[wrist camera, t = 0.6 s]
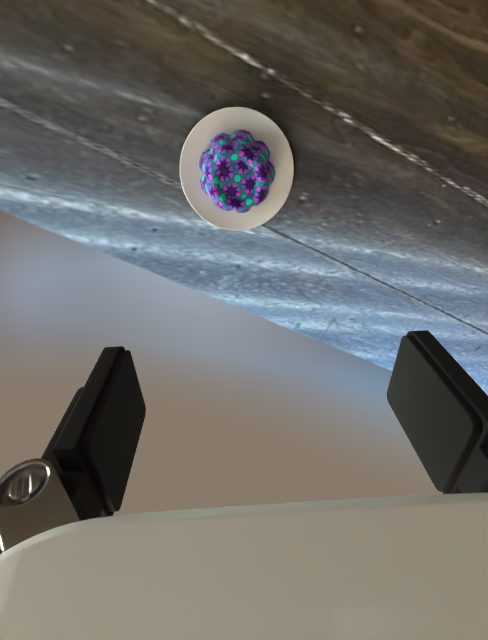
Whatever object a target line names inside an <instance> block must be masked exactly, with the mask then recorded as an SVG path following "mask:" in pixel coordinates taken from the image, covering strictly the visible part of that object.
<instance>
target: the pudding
mask: <svg viewBox="0 0 488 640" xmlns="http://www.w3.org/2000/svg"><path fill="white" fill-rule="evenodd" d="M293 175H294V163H293V157H292V152H291V149H290V146H289V143H288V141H287V139H286V137H285V135H284V134H283V132H282V131H281V129H280V128H279V127H278V126H277V125H276V123H274V122H273V121H272V120H271V119H270V118H269V117H267V116H266V115H264V114H262V113H260V112H258V111H256V110H253V109H250V108H244V107H228V108H223V109H220V110H217V111H214V112H213V113H211V114H209V115H207V116H205V117H204V118H203V119H202V120H201V121H200V122H198V123H197V124H196V126H195V127H194V128H193V129H192V131H191V132H190V134H189V135H188V137H187V139H186V141H185V143H184V146H183V149H182V152H181V158H180V179H181V185H182V188H183V191H184V194H185V196H186V198H187V200H188V202H189V203H190V205H191V206H192V208H193V209H194V210H195V211H196V213H197V214H199V215H200V216H201V217H202V218H203V219H204V220H206V221H207V222H209V223H210V224H212V225H214V226H217V227H219V228H222V229H226V230H234V231H240V230H248V229H252V228H255V227H257V226H260V225H262V224H264V223H265V222H267V221H268V220H269V219H271V218H272V217H273V216H274V215H275V214H276V213H277V212H278V211H279V210H280V208H281V207H282V206H283V204H284V203H285V201H286V199H287V197H288V195H289V192H290V189H291V186H292V181H293Z"/></svg>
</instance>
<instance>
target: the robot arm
mask: <svg viewBox="0 0 488 640" xmlns="http://www.w3.org/2000/svg"><path fill="white" fill-rule="evenodd" d="M387 399H388V402H389V404H390V406H391V408H392V410H393V411H394V413H395V415H396V417H397V419H398V420H399V422H400V424H401V426H402V428H403V429H404V431H405V433H406V435H407V437H408V438H409V440H410V442H411V444H412V446H413V447H414V449H415V451H416V453H417V455H418V457H419V458H420V460H421V462H422V464H423V466H424V468H425V469H426V471H427V473H428V475H429V477H430V478H431V480H432V482H433V484H434V486H435V487H436V489H437V490H438V491H440V492H443V494H436V495H418V496H400V497H381V498H363V499H346V500H329V501H314V502H296V503H280V504H265V505H248V506H234V507H219V508H203V509H189V510H173V511H161V512H149V513H137V514H126V515H116V516H113V513H114V512H115V511H119V509H120V507H121V504H122V500H123V496H124V492H125V489H126V485H127V481H128V478H129V474H130V470H131V467H132V462H133V459H134V455H135V452H136V448H137V444H138V441H139V436H140V433H141V429H142V426H143V422H144V418H145V412H146V409H145V403H144V400H143V396H142V392H141V389H140V385H139V381H138V378H137V374H136V371H135V367H134V363H133V360H132V356H131V353H130V351H128V350H126V351H125V349H124V347H106V348H104V350H103V351H102V353H101V355H100V357H99V359H98V361H97V363H96V365H95V367H94V369H93V370H92V373H91V374H90V376H89V378H88V380H87V382H86V384H85V386H84V387H81V388H80V389H79V390H78V391H77V393H76V394H75V396H74V398H73V399H72V401H71V403H70V405H69V407H68V409H67V411H66V413H65V414H64V416H63V418H62V420H61V422H60V424H59V426H58V428H57V429H56V431H55V433H54V435H53V437H52V439H51V441H50V442H49V445H48V446H47V448H46V450H45V452H44V454H43V456H42V457H41V459H31V460H27V461H24V462H22V463H20V464H17V465H15V466H14V467H13V468H11V469H10V470H8V471H7V472H6V473H5V474H4V475H3V476H1V478H0V640H488V396H487V394H486V393H485V392H484V391H483V390H482V389H481V388H480V387H479V386H478V385H477V384H476V382H475V381H474V380H473V379H472V378H471V377H470V376H469V375H468V374H467V373H466V371H465V370H464V369H463V368H462V367H461V366H460V365H459V364H458V363H457V362H456V360H455V359H454V358H453V357H452V356H451V355H450V354H449V353H448V352H447V351H446V349H445V348H444V347H443V346H442V345H441V344H440V343H439V342H438V341H437V340H436V339H435V337H434V336H433V335H432V334H431V333H430V332H429V331H426V330H425V331H410V332H408V333H407V335H406V336H403V337H402V339H401V343H400V347H399V350H398V354H397V358H396V361H395V365H394V369H393V373H392V376H391V380H390V383H389V387H388V391H387Z"/></svg>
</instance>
